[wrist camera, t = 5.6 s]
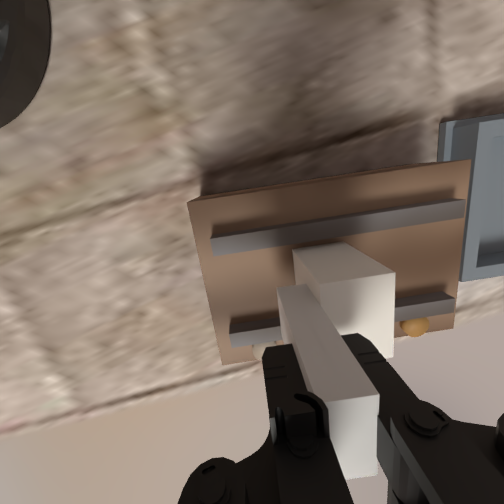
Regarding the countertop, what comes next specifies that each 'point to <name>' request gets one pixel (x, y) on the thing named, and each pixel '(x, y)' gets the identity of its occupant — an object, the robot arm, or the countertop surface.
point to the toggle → (350, 290)
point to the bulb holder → (479, 191)
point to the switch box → (330, 231)
